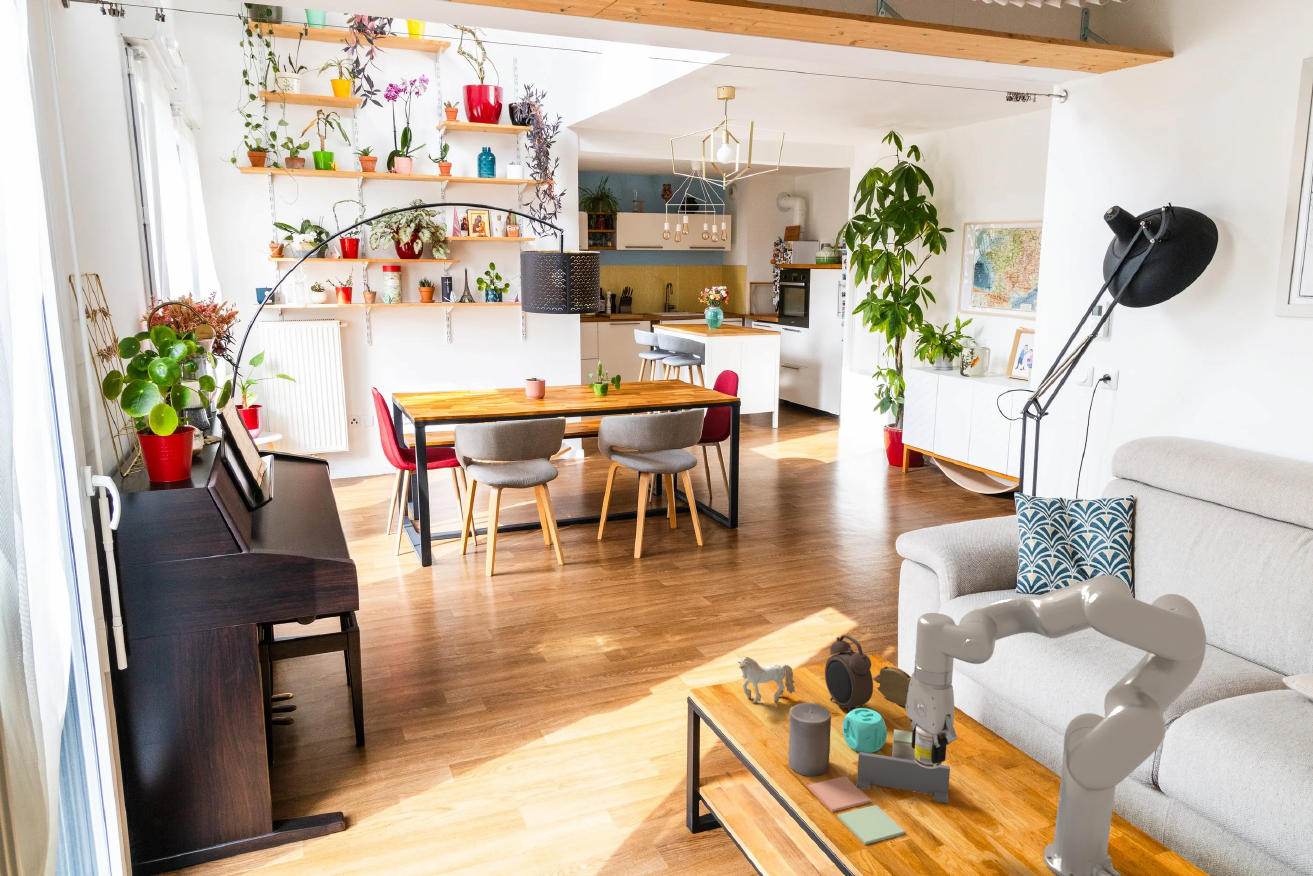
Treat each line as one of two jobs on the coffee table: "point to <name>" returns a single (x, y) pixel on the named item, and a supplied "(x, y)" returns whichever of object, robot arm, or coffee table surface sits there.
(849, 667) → the alarm clock
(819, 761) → the pillar candle
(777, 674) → the unicorn figurine
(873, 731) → the decorative dice
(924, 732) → the supplement bottle
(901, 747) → the marked post
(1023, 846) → the coffee table surface
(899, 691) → the wooden carving
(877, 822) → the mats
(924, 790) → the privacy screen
